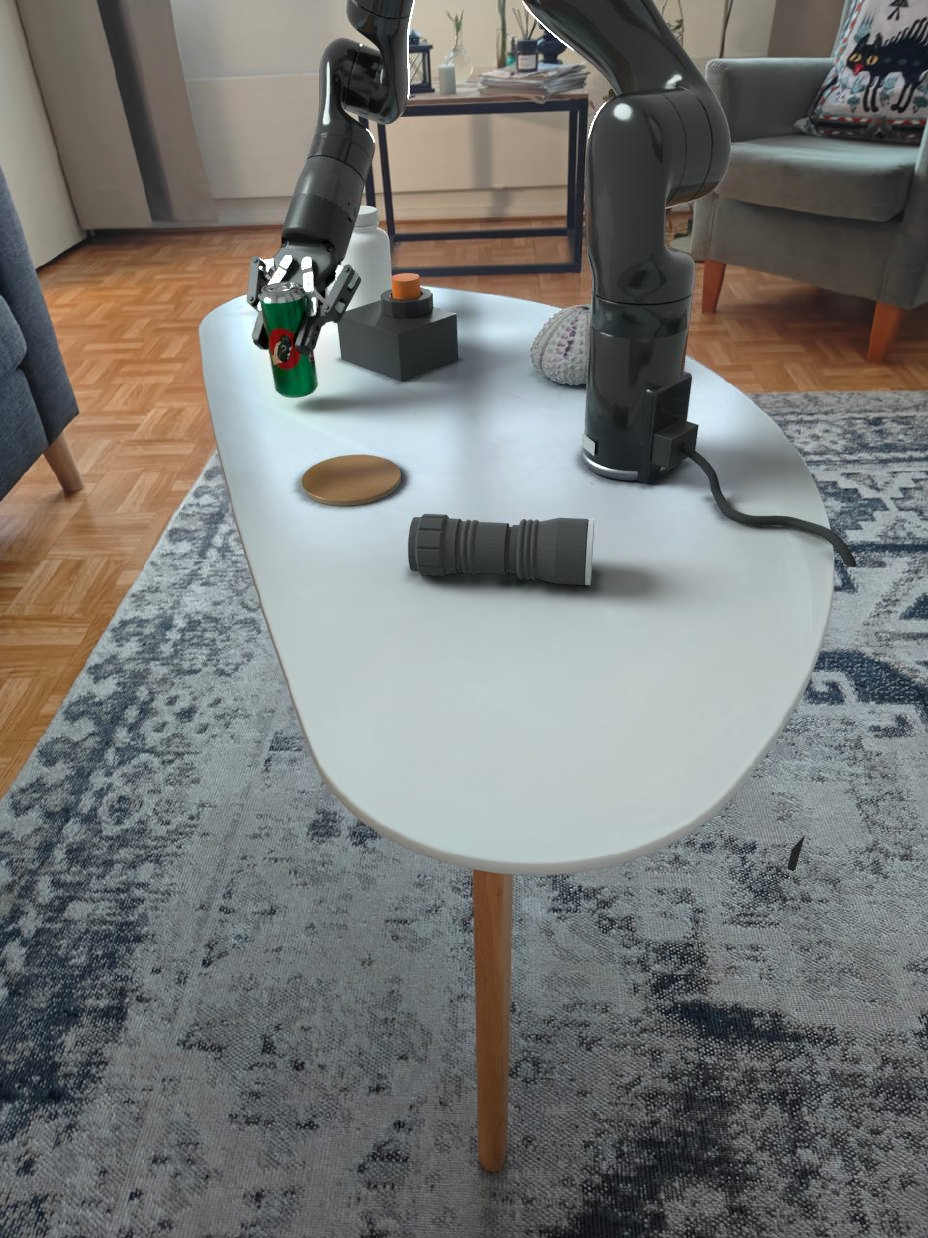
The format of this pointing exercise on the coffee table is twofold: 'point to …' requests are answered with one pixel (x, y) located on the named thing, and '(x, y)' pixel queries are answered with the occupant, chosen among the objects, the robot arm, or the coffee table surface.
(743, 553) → the coffee table surface
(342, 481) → the coaster
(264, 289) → the soda can
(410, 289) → the button
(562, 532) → the flashlight
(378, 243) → the pill bottle
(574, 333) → the sea urchin shell
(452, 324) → the push button base
